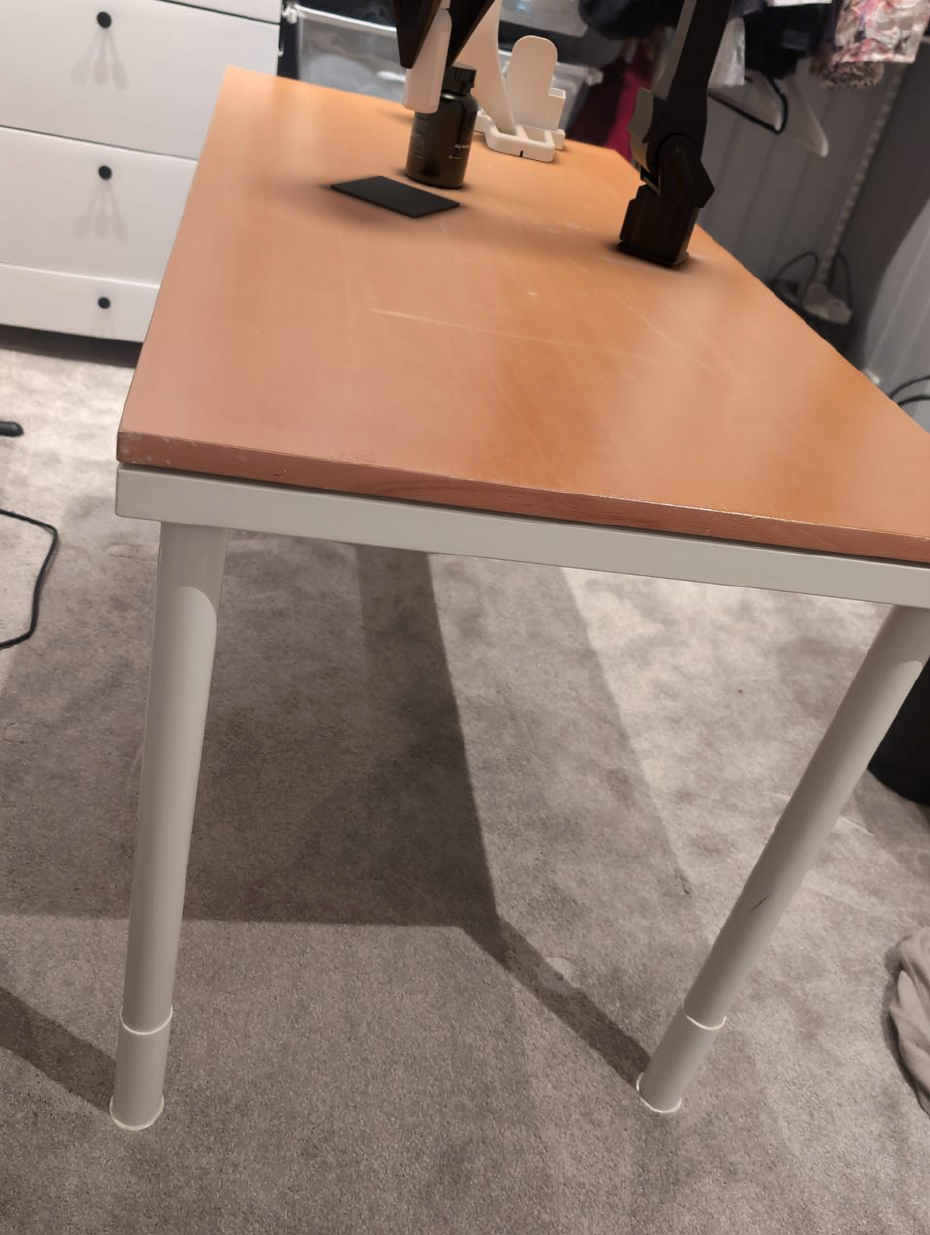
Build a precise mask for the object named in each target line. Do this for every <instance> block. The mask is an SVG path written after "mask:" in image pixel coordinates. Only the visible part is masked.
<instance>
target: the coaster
mask: <svg viewBox="0 0 930 1235" xmlns="http://www.w3.org/2000/svg"><path fill="white" fill-rule="evenodd" d="M329 187H330V188H329V189H331V190H335V191H338V192H340V193H343V194H346V195H349V196H352V197H353V198H357V199H360V200H362V201H365V202H368V203H371V204H374V205H377V206H380V207H383V208H385V209H388V210H391V211H394V212H396V213H399V214H403V215H405V216H408V217H411V218H414V219H415V218H419V217H422V216H427V215H430V214H434V213H438V212H441V211H445V210H449V209H452V208H456V207H459V206H461V203H460V202H458V201H455V200H453V199H449V198H446V197H444V196H441V195H438V194H435V193H432V192H429V191H427V190H424V189H421V188H418V187H415V186H412V185H409V184H405V183H404V182H400V181H397V180H395V179H392V178H389V177H386V176H383V175H377V176H371V177H366V178H361V179H355V180H351V181H344V182H340V183H333V184H330V186H329Z"/></svg>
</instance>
